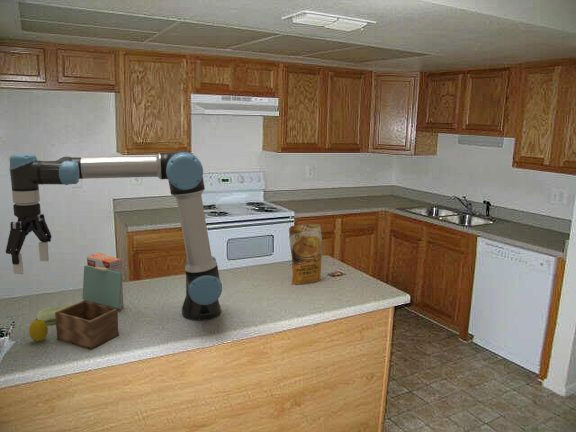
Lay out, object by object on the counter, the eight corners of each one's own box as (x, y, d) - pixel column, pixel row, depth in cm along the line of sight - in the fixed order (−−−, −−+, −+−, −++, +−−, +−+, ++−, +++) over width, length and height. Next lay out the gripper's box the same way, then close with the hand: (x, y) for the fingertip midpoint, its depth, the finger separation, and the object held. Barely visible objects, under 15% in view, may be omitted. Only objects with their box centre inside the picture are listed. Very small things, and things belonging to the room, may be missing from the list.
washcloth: (36, 315, 180) (35, 307, 180) (86, 307, 189) (85, 300, 188) (37, 329, 169) (36, 320, 168) (89, 320, 177) (89, 312, 177)
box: (122, 334, 166) (121, 308, 164) (92, 350, 154) (91, 322, 152) (86, 324, 173) (85, 299, 171) (56, 339, 161) (53, 312, 159)
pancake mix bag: (284, 282, 224) (285, 224, 218) (318, 276, 232) (320, 221, 227) (290, 286, 218) (292, 228, 212) (325, 281, 227) (328, 224, 221)
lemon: (39, 336, 162) (37, 315, 161) (52, 339, 161) (50, 317, 159) (26, 343, 157) (24, 321, 156) (39, 346, 156) (37, 324, 154)
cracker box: (89, 305, 190) (85, 255, 186) (101, 300, 195) (99, 252, 191) (111, 313, 183) (108, 262, 179) (124, 308, 188) (121, 258, 184)
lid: (115, 309, 161) (120, 308, 163) (117, 272, 160) (122, 271, 162) (79, 300, 168) (84, 299, 170) (81, 264, 167) (85, 264, 169)
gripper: (39, 196, 161) (43, 255, 166) (-13, 209, 137) (-6, 278, 141) (59, 197, 161) (64, 256, 165) (11, 211, 137) (18, 280, 141)
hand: (32, 267), depth 153 cm, fingers open, 13 cm apart
